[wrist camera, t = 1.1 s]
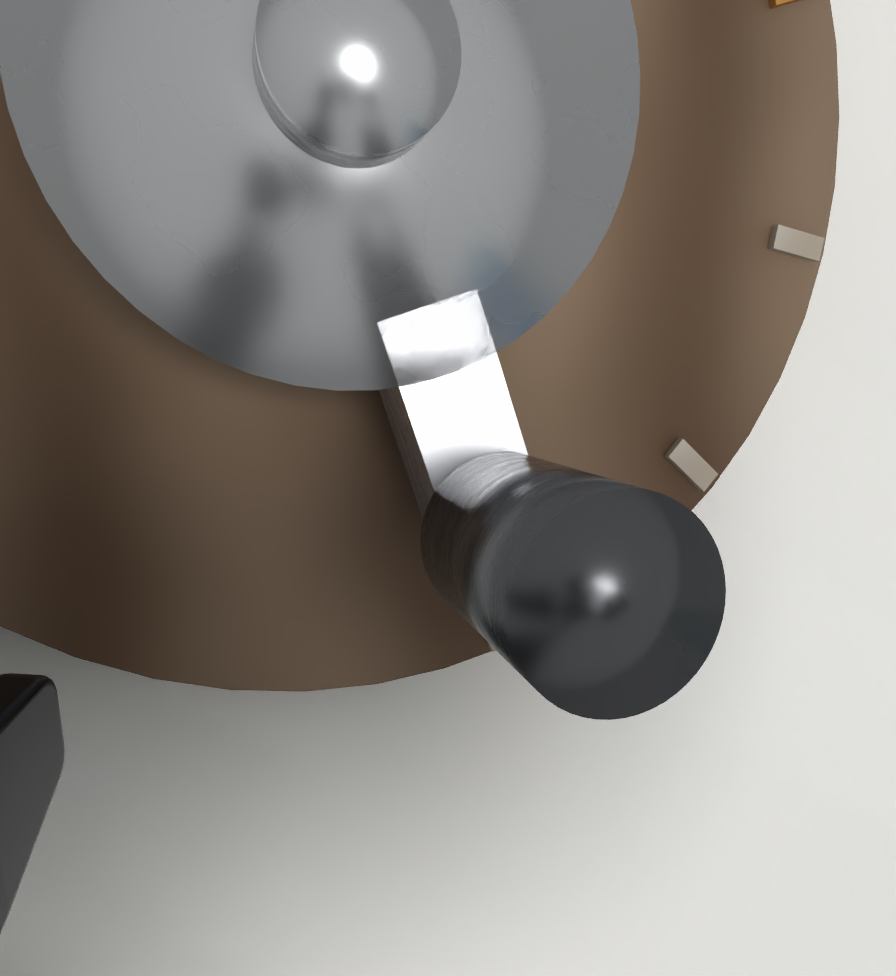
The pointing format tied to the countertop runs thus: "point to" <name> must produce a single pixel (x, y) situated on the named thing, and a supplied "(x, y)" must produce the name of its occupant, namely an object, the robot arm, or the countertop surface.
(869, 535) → the countertop surface
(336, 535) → the dial base plate
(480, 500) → the dial
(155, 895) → the countertop surface
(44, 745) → the robot arm
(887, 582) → the countertop surface
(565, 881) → the countertop surface
